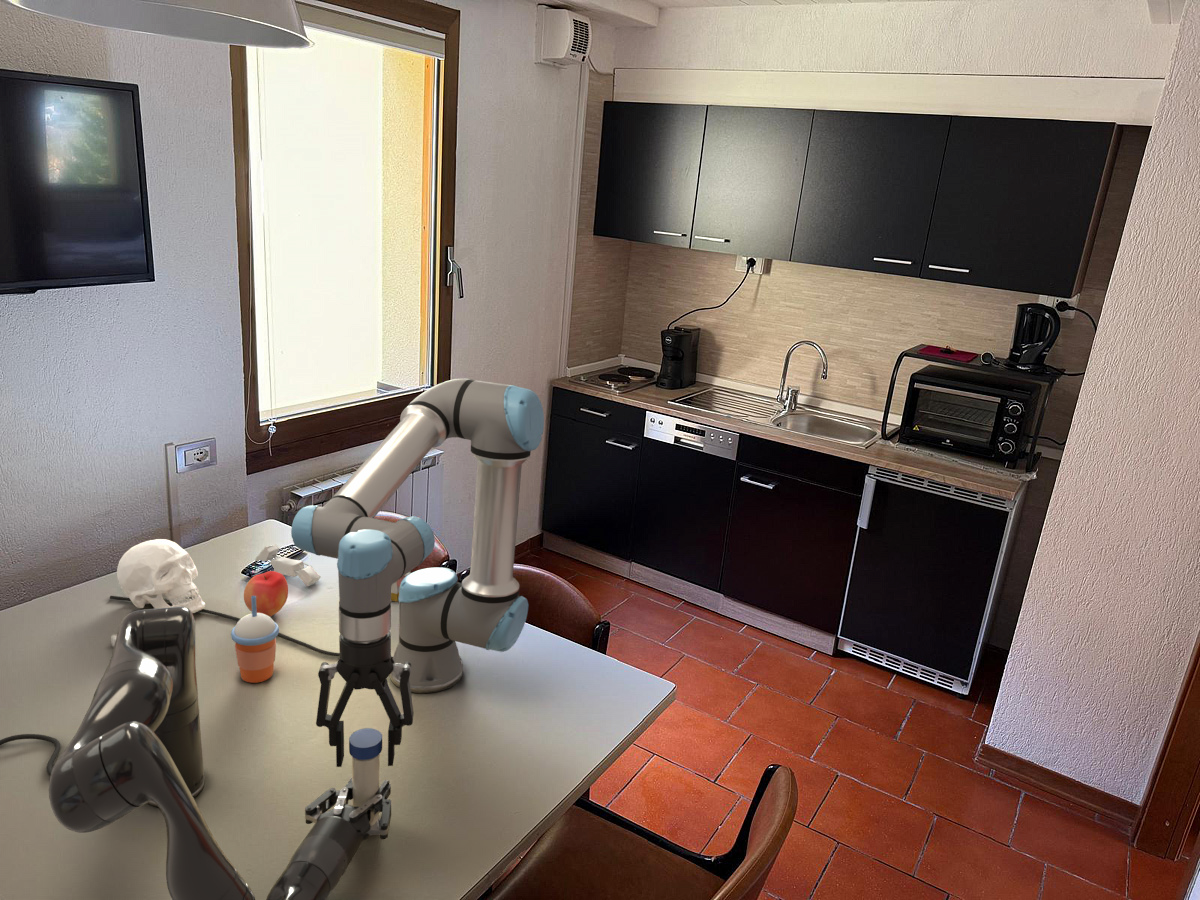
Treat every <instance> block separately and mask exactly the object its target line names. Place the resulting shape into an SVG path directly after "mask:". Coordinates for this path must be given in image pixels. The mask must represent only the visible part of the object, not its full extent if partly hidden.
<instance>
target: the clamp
mask: <svg viewBox="0 0 1200 900" xmlns="http://www.w3.org/2000/svg"><path fill="white" fill-rule="evenodd" d="M280 549H281V547H279V546H278V545H277V544H272V545H266V546H264V547H263V549H262V550H261V551H260V552H259V554H258V555H257V556H256V557H255V559H254V562H255V563H256V561H259V560H262V561H268V560H271V562H270V563H269V564H271V565H272V566H273V568H274V571H275V572H278V573H281V574H282V575H283V576H288V577H292V578H296V577H298V578H299V579H300V580H301V582H303V584H304V585H305V587H309V586H312V585H314V584H316V583H318V582H319V580H320V579H321V578H322V577H321V575H320V574H319V573H318V572H317V570H315V569H314V568H313V566H312V565H310V564H309V565H308V564H307V563H305V562H304V561H303V560H301V559H300V560H299V559H292V558H289V557H285V556H278V553H279V551H280ZM273 558H274V559H273ZM272 559H273V560H272ZM305 566H306V567H305ZM270 571H271V570H270Z"/></svg>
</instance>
